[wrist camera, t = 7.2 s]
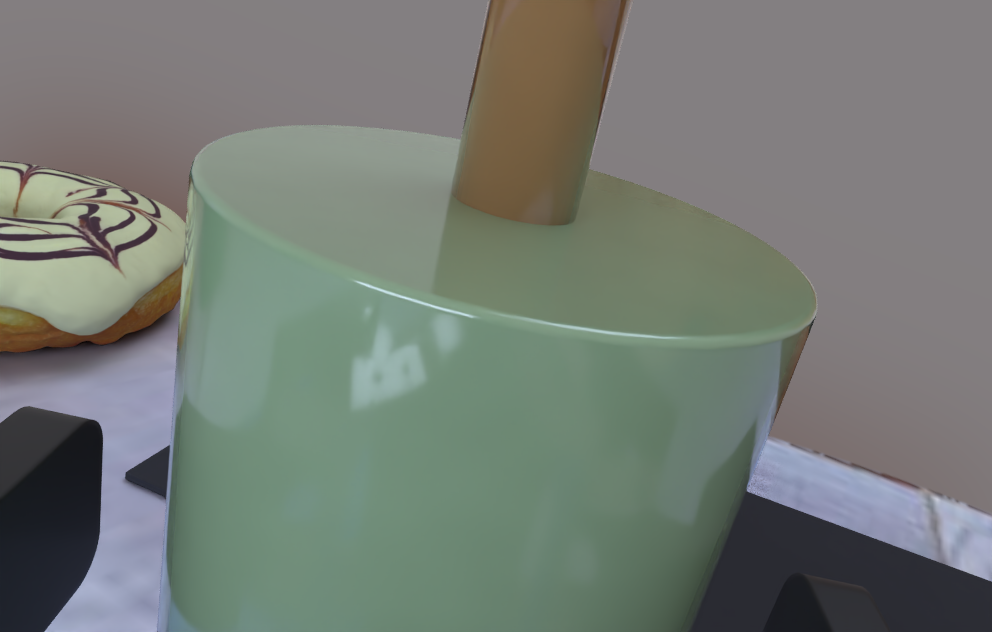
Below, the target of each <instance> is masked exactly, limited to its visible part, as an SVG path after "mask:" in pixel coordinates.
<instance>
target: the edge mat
mask: <svg viewBox="0 0 992 632" xmlns="http://www.w3.org/2000/svg"><path fill="white" fill-rule="evenodd" d="M169 454H170V445H169V446H167V447H166V448H164V449H163V450H161V451H159V452H158V453H156V454H155V455H153V456H151V457H150V458H148V459H147V460H145V461H143V462H142V463H140V464H138V465H137V466H135V467H134V468H132V469H130V470H129V471H127V472H126V476H125V478H126V479H127V480H129V481H131V482H134V483H136V484H138V485H140V486H142V487H145V488H147V489H149V490H151V491H154V492H156V493H158V494H160V495H163V496H165V497H166V496H167V482H168V468H169ZM794 573H802V574H807V575H811V576H816V577H821V578H825V579H830V580H835V581H839V582H844V583H849V584H853V585H858V586H862V587H864V588H865V589H866V590H867V591H868V592H869V593H870V594H871V596H872V598H873V599H874V601H875V603H876V605H877V607H878V608H879V610H880V612H881V614H882V616H883V617H884V619H885V621H886V623H887V625H888V626H889V628H890V630H891V632H992V582H991V581H988V580H985V579H983V578H980V577H977V576H974V575H972V574H969V573H966V572H964V571H961V570H958V569H955V568H953V567H950V566H947V565H945V564H942V563H939V562H936V561H934V560H931V559H928V558H926V557H923V556H920V555H917V554H915V553H912V552H909V551H907V550H904V549H901V548H898V547H896V546H893V545H890V544H888V543H885V542H882V541H879V540H877V539H874V538H871V537H869V536H866V535H863V534H860V533H858V532H855V531H852V530H850V529H847V528H844V527H841V526H839V525H836V524H833V523H831V522H828V521H825V520H822V519H820V518H817V517H814V516H812V515H809V514H806V513H803V512H801V511H798V510H795V509H793V508H790V507H787V506H784V505H782V504H779V503H776V502H774V501H771V500H768V499H765V498H763V497H760V496H757V495H755V494H752V493H749V492H746V494H745V496H744V499H743V501H742V504H741V506H740V509H739V511H738V514H737V516H736V519H735V521H734V524H733V526H732V529H731V531H730V534H729V536H728V539H727V541H726V544H725V546H724V549H723V551H722V554H721V556H720V559H719V561H718V564H717V566H716V569H715V571H714V574H713V576H712V579H711V581H710V584H709V587H708V589H707V592H706V594H705V597H704V599H703V602H702V604H701V607H700V609H699V612H698V614H697V617H696V619H695V622H694V624H693V627H692V629H691V632H763V629H764V627H765V625H766V623H767V620H768V618H769V616H770V613H771V611H772V609H773V607H774V604H775V602H776V600H777V598H778V595H779V593H780V591H781V589H782V587H783V585H784V583H785V581H786V580H787V579H788V578H789V577H790V576H791V575H792V574H794Z"/></svg>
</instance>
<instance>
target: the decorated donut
mask: <svg viewBox="0 0 992 632" xmlns="http://www.w3.org/2000/svg"><path fill="white" fill-rule="evenodd" d="M185 231H186V224H185V223H184V221H183V220H182V219H181V218H180V217H179V216H178V215H177V214H176V213H174V212H173V211H172V210H170V209H168V208H167V207H165V206H164V205H162V204H160V203H158V202H156V201H154V200H152V199H149V198H147V197H145V196H144V195H142V194H139V193H137V192H133V191H130V190H127V189H125V188H123V187H121V186H119V185H117V184H115V183H113V182H111V181H107V180H103V179H98V178H93V177H88V176H83V175H78V174H73V173H69V172H64V171H59V170H54V169H50V168H46V167H41V166H37V165H31V164H24V163H18V162H8V161H0V351H9V352H27V351H33V350H37V349H40V348H42V347H46V346H50V347H72V346H76V345H78V344H79V343H81V342H84V341H91V342H92V343H95V344H100V345H105V344H108V343H112V342H115V341H117V340H118V339H120V338H121V337H122V336H124V335H125V334H127V333H130V332H136V331H138V330H140V329H143V328H145V327H148V326H150V325H151V324H152V323H154V322H155V321H156V320H157V319H158V318H159V317H161V316H162V315H163V314H165V313H167V312H169V311H170V310H172V309H173V308H174V307H175V305H176V303H177V302H178V300H179V299H180V297H181V286H182V272H183V258H184V244H185Z"/></svg>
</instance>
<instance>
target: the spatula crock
mask: <svg viewBox="0 0 992 632" xmlns="http://www.w3.org/2000/svg"><path fill="white" fill-rule="evenodd" d="M632 2H633V0H488V5H487V10H486V15H485V20H484V25H483V30H482V35H481V41H480V45H479V50H478V55H477V61H476V65H475V70H474V76H473V80H472V86H471V91H470V96H469V101H468V106H467V111H466V116H465V121H464V126H463V131H462V136H461V139H455V138H448V137H443V136H436V135H430V134H422V133H415V132H408V131H399V130H390V129H380V128H368V127H354V126H332V125H299V126H280V127H271V128H262V129H255V130H250V131H245V132H240V133H235V134H232V135H229V136H226V137H223V138H220V139H217V140H215V141H214V142H212V143H210V144H208V145H207V146H205V147H204V148H203V149H202V150H201V151H200V152H199V153H198V154H197V156H196V157H195V159H194V161H193V162H192V166H191V170H190V175H189V190H188V203H187V217H186V231H185V244H184V258H183V272H182V286H181V300H180V314H179V328H178V342H177V356H176V370H175V384H174V398H173V412H172V426H171V440H170V454H169V468H168V482H167V496H166V510H165V524H164V538H163V552H162V566H161V580H160V594H159V608H158V622H157V632H691V629H692V627H693V624H694V622H695V619H696V617H697V614H698V612H699V609H700V607H701V604H702V602H703V599H704V597H705V594H706V592H707V589H708V587H709V584H710V581H711V579H712V576H713V574H714V571H715V569H716V566H717V564H718V561H719V559H720V556H721V554H722V551H723V549H724V546H725V544H726V541H727V539H728V536H729V534H730V531H731V529H732V526H733V524H734V521H735V519H736V516H737V514H738V511H739V509H740V506H741V504H742V501H743V499H744V496H745V494H746V491H747V488H748V486H749V483H750V481H751V478H752V476H753V473H754V471H755V468H756V466H757V463H758V461H759V458H760V456H761V453H762V451H763V448H764V446H765V443H766V441H767V438H768V436H769V433H770V431H771V428H772V425H773V423H774V420H775V418H776V415H777V413H778V411H779V408H780V405H781V403H782V400H783V398H784V395H785V393H786V390H787V388H788V385H789V383H790V380H791V378H792V375H793V373H794V370H795V368H796V365H797V363H798V360H799V358H800V355H801V353H802V350H803V348H804V345H805V342H806V340H807V338H808V335H809V333H810V330H811V328H812V325H813V323H814V320H815V318H816V315H817V295H816V292H815V290H814V288H813V285H812V283H811V282H810V281H809V279H808V278H807V277H806V276H805V274H804V273H803V272H802V271H801V270H800V269H799V268H798V267H797V266H796V265H795V264H793V263H792V262H791V261H790V260H789V259H788V258H786V257H785V256H784V255H782V254H781V253H780V252H778V251H777V250H775V249H774V248H773V247H771V246H770V245H768V244H767V243H765V242H764V241H762V240H760V239H759V238H757V237H755V236H754V235H752V234H750V233H749V232H747V231H745V230H743V229H741V228H739V227H737V226H736V225H734V224H732V223H730V222H728V221H726V220H724V219H721V218H719V217H717V216H715V215H713V214H711V213H709V212H707V211H704V210H702V209H700V208H697V207H695V206H693V205H690V204H688V203H685V202H683V201H681V200H678V199H676V198H673V197H670V196H668V195H665V194H662V193H660V192H657V191H655V190H652V189H649V188H646V187H643V186H640V185H637V184H634V183H632V182H629V181H625V180H622V179H619V178H616V177H613V176H610V175H607V174H603V173H600V172H597V171H593V170H590V169H589V166H590V163H591V159H592V155H593V151H594V147H595V144H596V140H597V136H598V132H599V128H600V124H601V121H602V116H603V113H604V109H605V105H606V102H607V98H608V94H609V90H610V86H611V82H612V78H613V74H614V71H615V67H616V63H617V59H618V56H619V52H620V48H621V44H622V40H623V37H624V33H625V29H626V25H627V21H628V17H629V14H630V10H631V6H632Z"/></svg>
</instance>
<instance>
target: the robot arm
mask: <svg viewBox="0 0 992 632" xmlns="http://www.w3.org/2000/svg"><path fill="white" fill-rule="evenodd" d="M102 452H103V434H102V429H101V426H100V425H99V423H98V422H97V421H95V420H90V419H86V418H81V417H76V416H72V415H67V414H62V413H58V412H53V411H48V410H44V409H39V408H34V407H30V406H28V407H23V408H20V409H19V410H17V411H16V412H14V413H13V414H12V415H10V416H9V417H8V418H6V419H5V420H4V421H3V422H1V423H0V632H44V631H45V630H46V629H47V627H48V626H49V625H50V624H51V622H52V621H53V620H54V619H55V617H56V616H57V615H58V613H59V612H60V611H61V610H62V608H63V607H64V606H65V605H66V603H67V602H68V601H69V599H70V598H71V597H72V596H73V594H74V593H75V592H76V590H77V589H78V588H79V586H80V585H81V583H82V582H83V580H84V578H85V576H86V574H87V572H88V570H89V568H90V566H91V563H92V561H93V558H94V555H95V552H96V549H97V545H98V540H99V533H100V511H101V482H102ZM763 632H891V630H890V628H889V626H888V625H887V623H886V621H885V619H884V617H883V616H882V614H881V612H880V610H879V608H878V607H877V605H876V603H875V601H874V599H873V598H872V596H871V594H870V593H869V592H868V591H867V590H866V589H865V588H864V587H862V586H858V585H853V584H849V583H844V582H839V581H835V580H830V579H825V578H821V577H816V576H811V575H807V574H802V573H794V574H792V575H791V576H790V577H789V578H788V579H787V580H786V581H785V583H784V585H783V587H782V589H781V591H780V593H779V595H778V598H777V600H776V602H775V604H774V607H773V609H772V611H771V613H770V616H769V618H768V620H767V623H766V625H765V627H764V629H763Z"/></svg>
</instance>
